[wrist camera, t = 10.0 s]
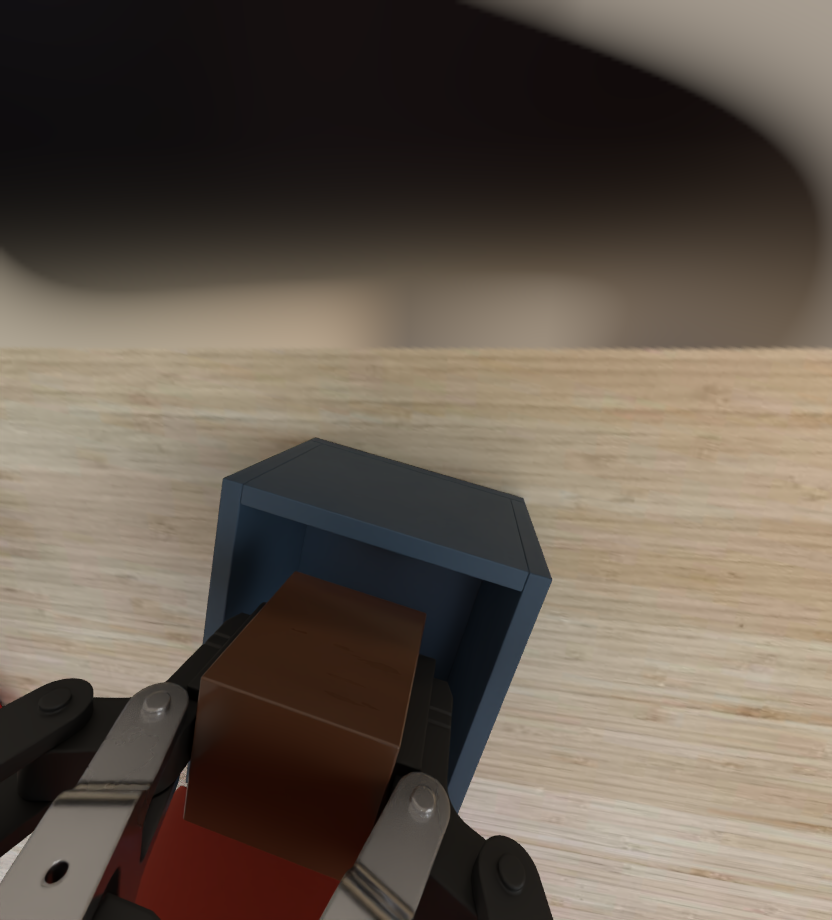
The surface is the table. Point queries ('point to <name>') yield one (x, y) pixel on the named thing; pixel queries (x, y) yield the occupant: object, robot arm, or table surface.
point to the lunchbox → (392, 565)
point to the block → (305, 723)
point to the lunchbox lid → (224, 877)
